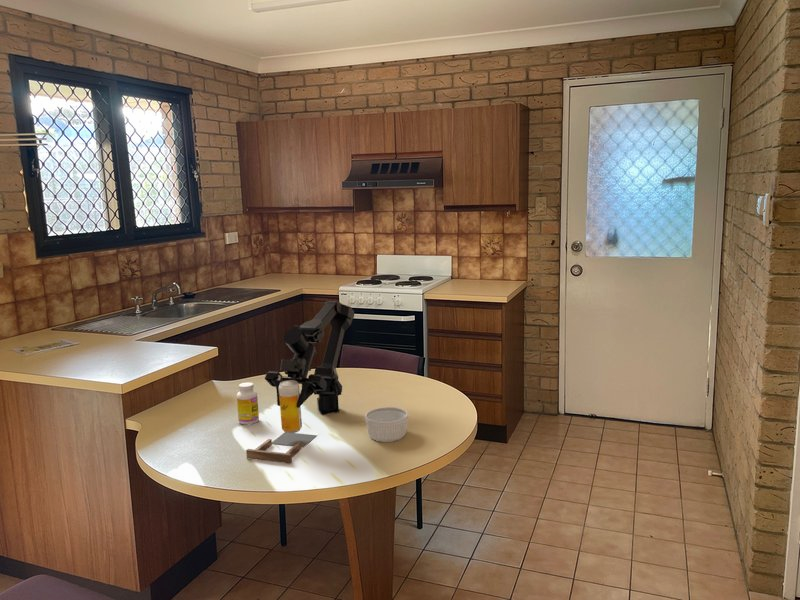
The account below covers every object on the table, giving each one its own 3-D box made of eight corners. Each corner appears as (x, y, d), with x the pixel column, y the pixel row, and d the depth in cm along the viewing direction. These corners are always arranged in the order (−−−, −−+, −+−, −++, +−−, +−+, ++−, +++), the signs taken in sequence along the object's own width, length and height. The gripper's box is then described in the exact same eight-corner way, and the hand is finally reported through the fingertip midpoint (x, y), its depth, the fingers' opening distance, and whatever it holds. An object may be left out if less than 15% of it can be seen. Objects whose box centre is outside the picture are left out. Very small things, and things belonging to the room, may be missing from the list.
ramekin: (376, 447, 187) (375, 425, 186) (358, 432, 198) (357, 411, 197) (416, 438, 193) (415, 416, 192) (396, 424, 204) (395, 403, 203)
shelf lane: (264, 444, 192) (264, 436, 191) (306, 449, 187) (305, 441, 187) (246, 458, 182) (246, 450, 182) (290, 463, 178) (289, 455, 177)
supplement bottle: (254, 425, 207) (251, 388, 205) (235, 424, 208) (232, 387, 206) (262, 418, 214) (259, 381, 211) (244, 417, 215) (241, 381, 213)
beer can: (282, 426, 196) (279, 380, 193) (302, 425, 196) (299, 379, 193) (281, 434, 190) (277, 386, 187) (301, 433, 190) (298, 385, 187)
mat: (285, 432, 200) (285, 431, 200) (316, 435, 197) (316, 435, 197) (270, 443, 192) (270, 443, 192) (303, 447, 189) (303, 446, 189)
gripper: (265, 346, 195) (249, 392, 187) (320, 349, 189) (306, 397, 181) (279, 363, 204) (264, 408, 196) (332, 366, 198) (319, 413, 190)
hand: (288, 406), depth 190 cm, fingers closed on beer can, 6 cm apart
